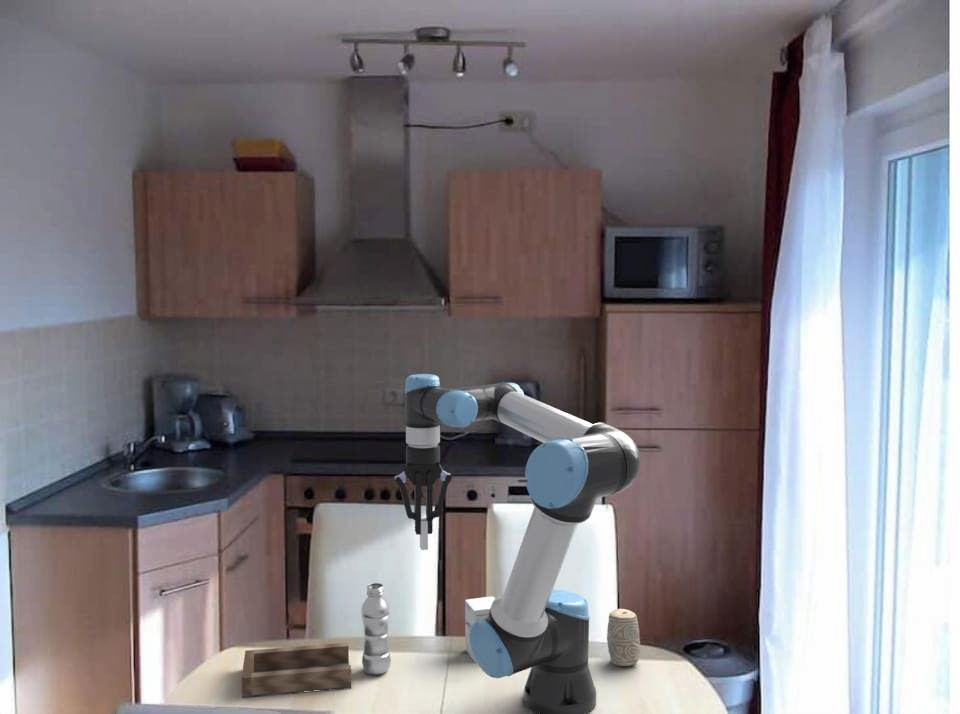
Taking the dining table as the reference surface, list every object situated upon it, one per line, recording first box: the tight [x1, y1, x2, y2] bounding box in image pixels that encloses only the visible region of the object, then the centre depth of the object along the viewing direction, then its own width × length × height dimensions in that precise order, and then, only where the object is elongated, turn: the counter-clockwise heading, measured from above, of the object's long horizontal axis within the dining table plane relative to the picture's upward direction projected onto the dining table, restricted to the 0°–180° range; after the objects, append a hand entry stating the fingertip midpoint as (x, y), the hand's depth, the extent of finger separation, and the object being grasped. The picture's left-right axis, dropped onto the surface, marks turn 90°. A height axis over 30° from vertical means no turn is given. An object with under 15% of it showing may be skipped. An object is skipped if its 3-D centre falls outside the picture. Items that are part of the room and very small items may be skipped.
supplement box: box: [464, 596, 496, 663], centre depth 219 cm, size 7×7×13 cm
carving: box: [606, 608, 641, 667], centre depth 214 cm, size 6×8×12 cm
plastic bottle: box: [360, 582, 392, 676], centre depth 210 cm, size 6×7×20 cm
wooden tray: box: [240, 642, 352, 699], centre depth 208 cm, size 23×14×4 cm, turn 101°
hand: (423, 547), depth 210 cm, fingers closed
